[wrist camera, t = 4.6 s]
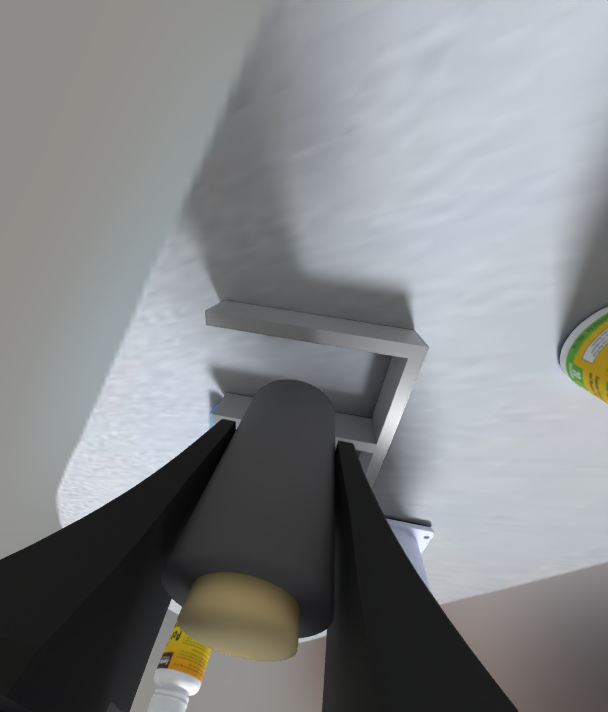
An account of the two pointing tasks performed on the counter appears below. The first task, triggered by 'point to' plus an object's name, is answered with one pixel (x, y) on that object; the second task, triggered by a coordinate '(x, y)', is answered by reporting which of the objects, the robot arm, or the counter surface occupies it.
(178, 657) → the supplement bottle
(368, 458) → the grey divided frame
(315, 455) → the plug
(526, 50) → the counter surface
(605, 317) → the supplement bottle
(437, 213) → the counter surface
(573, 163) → the counter surface
